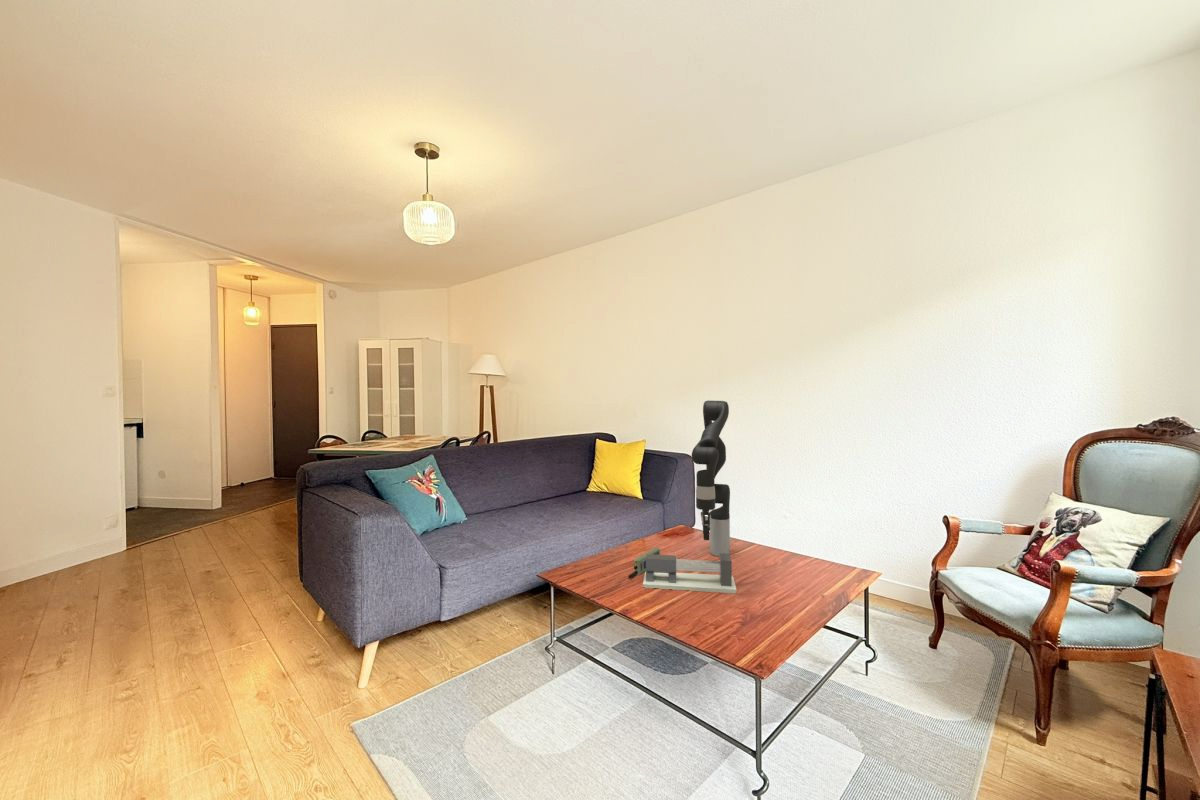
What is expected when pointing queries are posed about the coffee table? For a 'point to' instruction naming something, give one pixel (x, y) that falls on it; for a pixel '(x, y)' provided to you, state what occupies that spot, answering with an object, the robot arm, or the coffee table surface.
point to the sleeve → (661, 566)
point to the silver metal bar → (698, 565)
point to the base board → (690, 583)
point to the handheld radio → (643, 562)
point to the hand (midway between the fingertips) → (705, 536)
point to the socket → (726, 570)
